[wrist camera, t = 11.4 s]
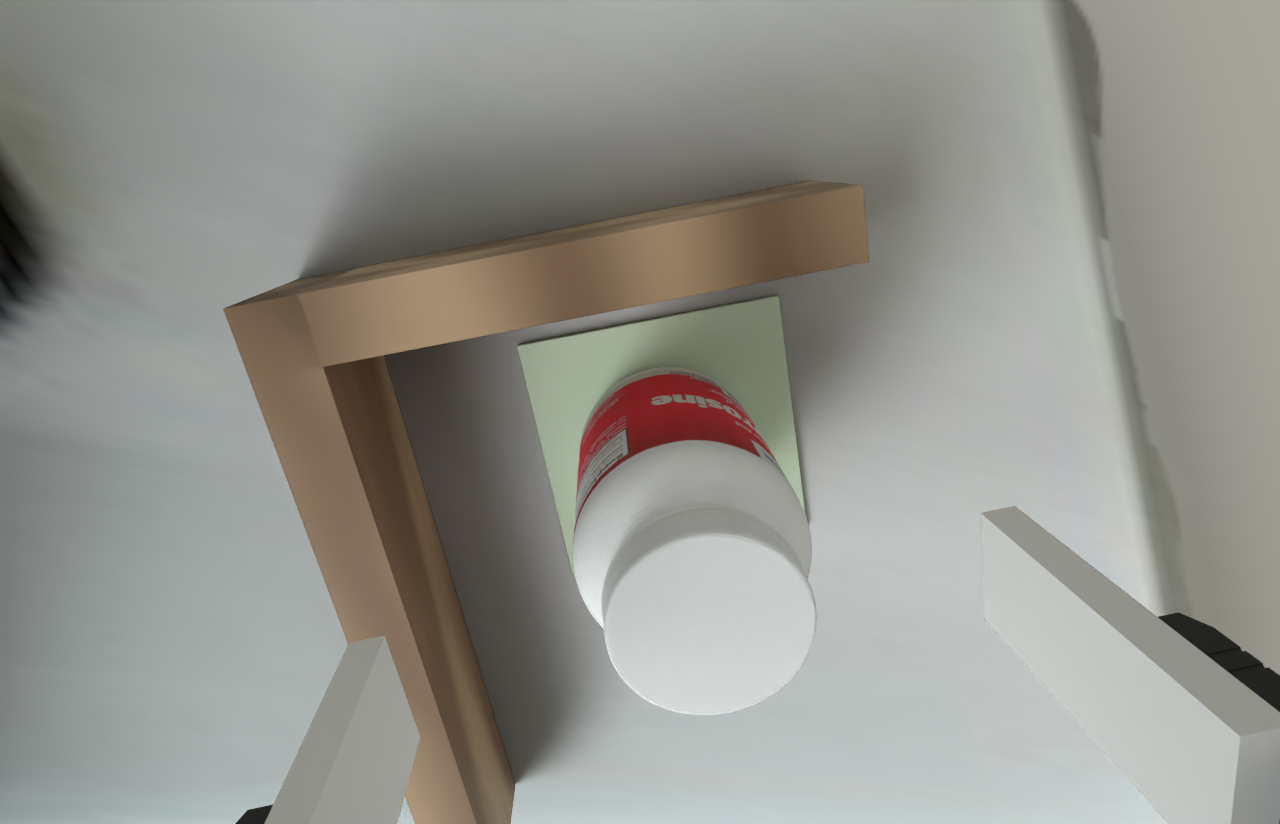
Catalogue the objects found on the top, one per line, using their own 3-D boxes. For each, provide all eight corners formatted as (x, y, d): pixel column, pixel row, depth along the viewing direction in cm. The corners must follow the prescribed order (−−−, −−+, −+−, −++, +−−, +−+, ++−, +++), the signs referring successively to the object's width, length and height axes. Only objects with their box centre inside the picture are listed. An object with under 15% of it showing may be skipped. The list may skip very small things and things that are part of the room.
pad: (572, 572, 28) (572, 574, 28) (517, 345, 25) (516, 346, 25) (805, 527, 28) (807, 529, 28) (777, 294, 25) (779, 296, 25)
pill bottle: (785, 425, 26) (911, 597, 16) (682, 551, 28) (736, 785, 17) (645, 326, 25) (683, 445, 15) (544, 464, 26) (512, 663, 16)
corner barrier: (468, 793, 31) (446, 906, 26) (296, 279, 24) (223, 308, 19) (864, 718, 31) (913, 818, 26) (809, 180, 24) (863, 185, 19)
